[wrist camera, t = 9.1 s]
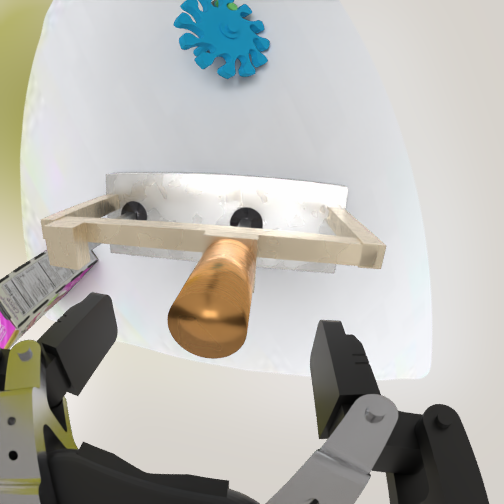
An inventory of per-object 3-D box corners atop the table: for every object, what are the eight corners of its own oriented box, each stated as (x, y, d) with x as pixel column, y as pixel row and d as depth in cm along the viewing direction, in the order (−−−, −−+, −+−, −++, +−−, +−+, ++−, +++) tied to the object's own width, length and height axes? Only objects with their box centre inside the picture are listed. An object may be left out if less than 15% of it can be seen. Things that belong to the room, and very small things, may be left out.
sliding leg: (231, 198, 26) (164, 285, 9) (263, 201, 26) (249, 295, 9) (229, 231, 27) (171, 354, 11) (260, 233, 27) (244, 364, 10)
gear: (277, 85, 22) (178, 60, 16) (237, 100, 27) (148, 88, 20) (270, 2, 20) (187, -30, 14) (235, 23, 24) (158, 2, 18)
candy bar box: (64, 298, 34) (-3, 363, 19) (45, 272, 33) (-28, 328, 18) (101, 260, 32) (16, 332, 16) (79, 229, 30) (-15, 285, 15)
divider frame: (112, 172, 28) (24, 196, 15) (344, 185, 27) (403, 217, 14) (116, 248, 31) (44, 304, 18) (331, 267, 30) (367, 348, 17)
